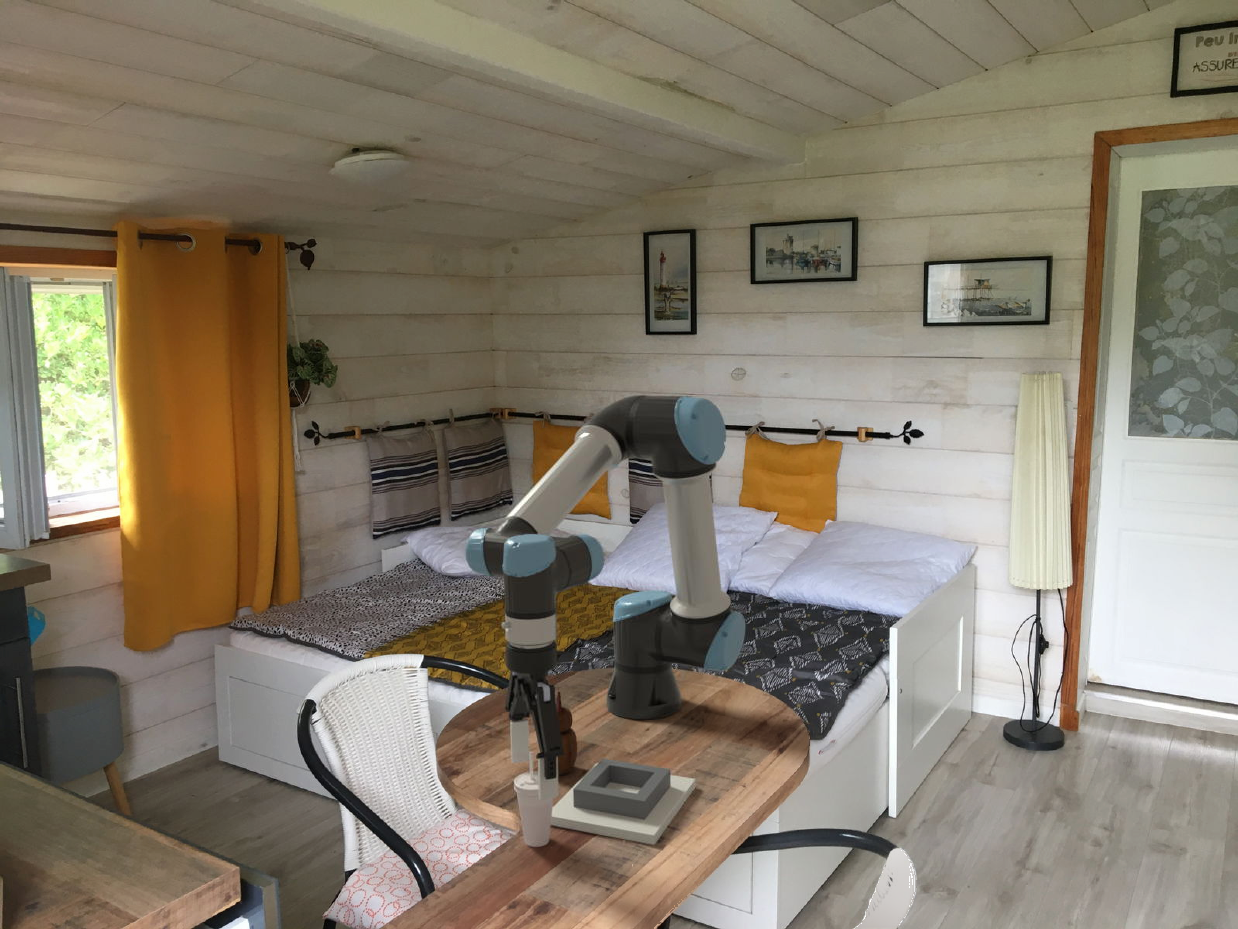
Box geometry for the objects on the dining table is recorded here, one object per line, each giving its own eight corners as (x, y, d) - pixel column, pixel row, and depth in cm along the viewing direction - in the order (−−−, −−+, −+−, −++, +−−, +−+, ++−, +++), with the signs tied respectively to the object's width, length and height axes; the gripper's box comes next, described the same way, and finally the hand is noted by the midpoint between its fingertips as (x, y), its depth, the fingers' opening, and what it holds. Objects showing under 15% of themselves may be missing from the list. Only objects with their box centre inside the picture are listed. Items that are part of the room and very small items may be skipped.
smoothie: (528, 827, 159) (525, 741, 157) (565, 834, 156) (563, 747, 154) (508, 847, 153) (504, 758, 151) (546, 855, 150) (543, 764, 148)
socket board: (596, 771, 178) (596, 746, 177) (695, 787, 171) (695, 762, 170) (545, 824, 159) (544, 797, 159) (654, 845, 153) (653, 816, 152)
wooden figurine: (571, 780, 174) (569, 696, 172) (539, 778, 175) (536, 694, 173) (581, 763, 181) (579, 682, 179) (549, 761, 182) (547, 680, 180)
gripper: (483, 622, 160) (486, 751, 163) (533, 670, 137) (536, 820, 140) (529, 616, 163) (531, 744, 166) (585, 662, 140) (587, 809, 143)
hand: (533, 779), depth 153 cm, fingers open, 13 cm apart
